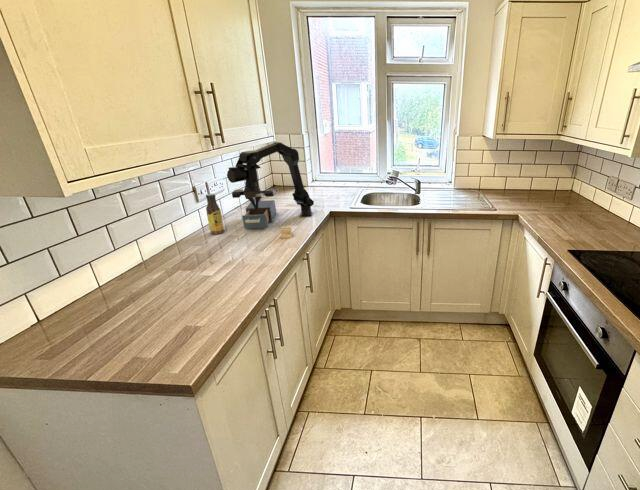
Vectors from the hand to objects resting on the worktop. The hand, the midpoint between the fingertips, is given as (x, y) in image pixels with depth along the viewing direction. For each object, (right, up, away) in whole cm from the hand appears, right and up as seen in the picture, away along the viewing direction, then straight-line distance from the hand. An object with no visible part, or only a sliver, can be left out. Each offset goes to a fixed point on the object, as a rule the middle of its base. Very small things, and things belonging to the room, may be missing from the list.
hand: (256, 209), depth 157 cm
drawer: (-5, -7, +11) cm, 14 cm away
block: (+15, -13, -1) cm, 20 cm away
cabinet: (-7, -3, +23) cm, 25 cm away
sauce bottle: (-21, -12, +3) cm, 24 cm away
